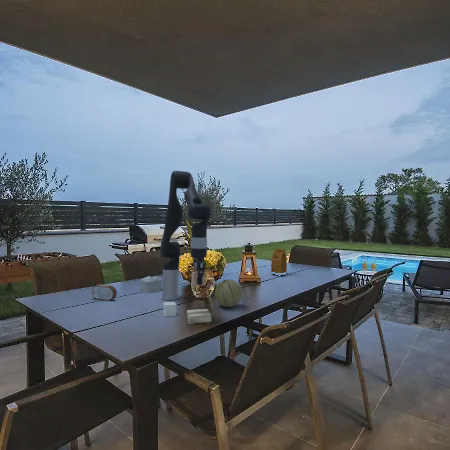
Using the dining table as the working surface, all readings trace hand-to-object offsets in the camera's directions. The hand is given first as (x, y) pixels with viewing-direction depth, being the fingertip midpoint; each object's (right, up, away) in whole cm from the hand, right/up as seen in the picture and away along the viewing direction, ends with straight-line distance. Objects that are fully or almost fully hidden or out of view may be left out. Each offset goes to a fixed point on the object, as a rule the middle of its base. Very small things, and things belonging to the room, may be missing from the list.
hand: (198, 283), depth 150 cm
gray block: (0, -18, +1) cm, 18 cm away
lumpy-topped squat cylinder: (-35, -15, +58) cm, 69 cm away
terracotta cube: (0, -1, 0) cm, 1 cm away
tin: (-57, -16, +34) cm, 68 cm away
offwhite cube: (-15, -17, +9) cm, 24 cm away
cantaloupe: (+14, -17, +24) cm, 32 cm away
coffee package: (+57, -15, +117) cm, 131 cm away
